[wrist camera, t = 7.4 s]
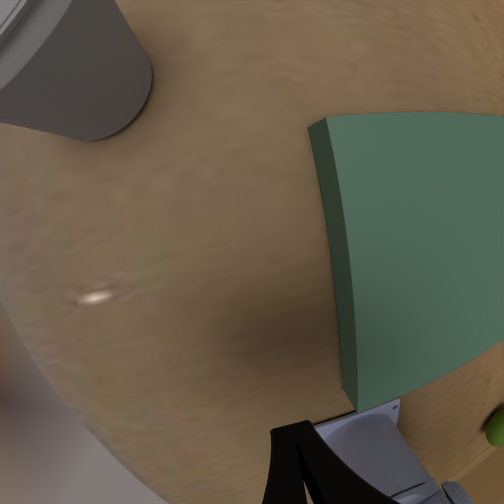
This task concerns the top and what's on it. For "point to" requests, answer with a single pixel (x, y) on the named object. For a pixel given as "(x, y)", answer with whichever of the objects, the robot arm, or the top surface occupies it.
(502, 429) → the snail figurine
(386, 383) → the putting board
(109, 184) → the top surface
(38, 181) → the top surface
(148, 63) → the beverage can
